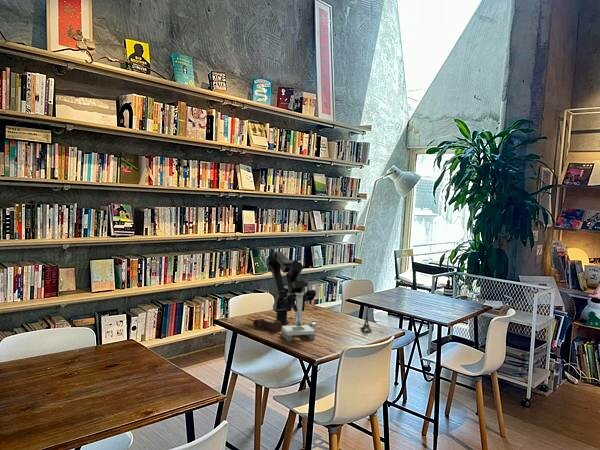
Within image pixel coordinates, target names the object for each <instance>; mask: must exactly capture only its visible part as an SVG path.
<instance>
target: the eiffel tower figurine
mask: <svg viewBox="0 0 600 450" xmlns="http://www.w3.org/2000/svg"><path fill="white" fill-rule="evenodd" d="M368 309H369V308H368V307H366V314H365V320H364V323H363V326H362V327H361V326H359V327H358V329H360V332H361V333H363V334H365V333H366V334H368V333H369V334H372V333H373V331H375V332H378V333H379V334H385V332H384V331H380V330H377V329H373V328H370V324H369V317H368V316H369V315H368V313H369V312H368ZM354 329H356V328H354V327H352V328H351V330H354Z"/></svg>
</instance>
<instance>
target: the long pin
mask: <svg viewBox="0 0 600 450" xmlns="http://www.w3.org/2000/svg"><path fill="white" fill-rule="evenodd" d="M304 293H305V292H304V291H301V292H295V295H296V298H295V305H296V308H297V312H295V311H294V313H295V317H294V326H302V325H303V311H302V306H303V295H304Z"/></svg>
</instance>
